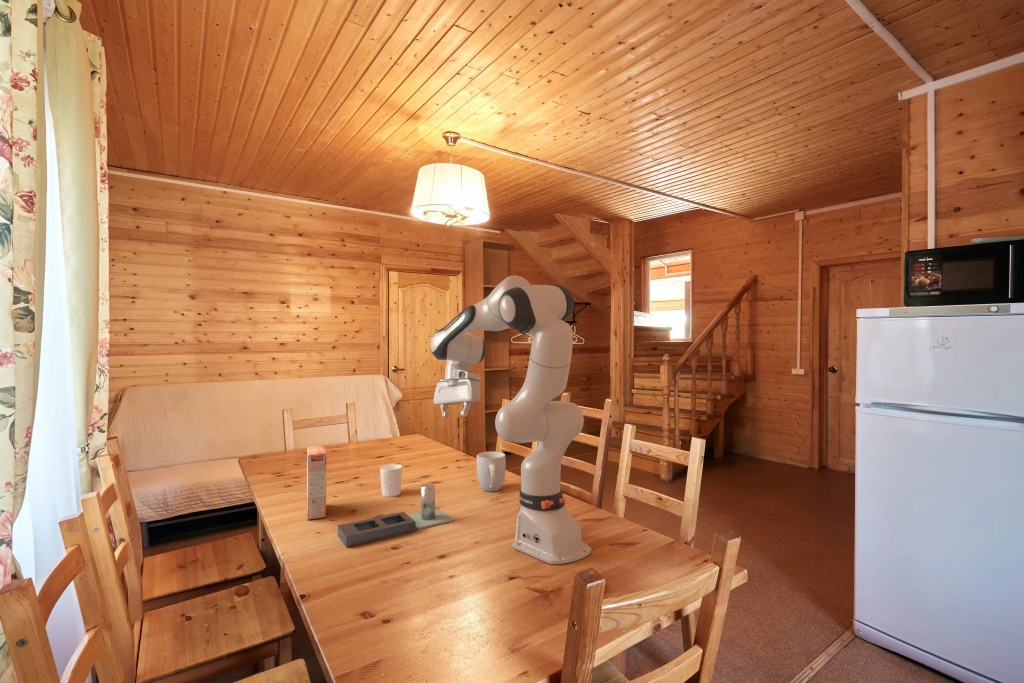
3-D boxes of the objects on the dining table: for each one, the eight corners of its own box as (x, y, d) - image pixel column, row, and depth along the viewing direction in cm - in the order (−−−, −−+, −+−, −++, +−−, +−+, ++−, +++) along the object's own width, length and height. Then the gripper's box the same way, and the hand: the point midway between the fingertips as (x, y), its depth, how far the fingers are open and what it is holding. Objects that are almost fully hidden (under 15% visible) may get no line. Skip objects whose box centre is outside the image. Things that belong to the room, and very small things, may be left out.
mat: (453, 521, 153) (453, 519, 153) (417, 529, 146) (417, 527, 146) (437, 510, 163) (437, 508, 163) (403, 517, 156) (403, 515, 156)
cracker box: (327, 518, 157) (326, 452, 157) (307, 520, 154) (306, 454, 154) (326, 504, 170) (325, 444, 170) (307, 507, 167) (306, 446, 167)
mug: (508, 496, 177) (508, 460, 177) (478, 497, 175) (478, 461, 175) (503, 484, 192) (503, 451, 192) (475, 485, 190) (475, 452, 190)
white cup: (399, 497, 177) (399, 469, 177) (377, 497, 177) (377, 469, 177) (404, 490, 185) (404, 464, 185) (383, 490, 185) (383, 464, 185)
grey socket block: (415, 531, 145) (415, 521, 145) (346, 547, 134) (346, 536, 134) (403, 521, 153) (403, 511, 153) (337, 535, 142) (337, 525, 142)
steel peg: (437, 518, 154) (437, 486, 154) (424, 521, 151) (423, 489, 151) (431, 514, 157) (431, 483, 157) (419, 517, 155) (418, 485, 155)
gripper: (431, 378, 172) (427, 417, 169) (471, 371, 159) (468, 414, 155) (444, 381, 177) (441, 419, 173) (484, 375, 164) (482, 416, 160)
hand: (454, 417), depth 164 cm, fingers open, 8 cm apart
